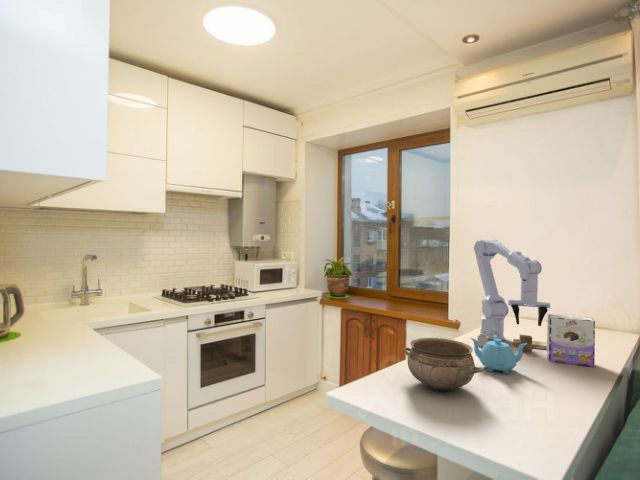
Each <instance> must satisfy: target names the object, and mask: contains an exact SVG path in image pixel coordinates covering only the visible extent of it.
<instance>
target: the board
mask: <svg viewBox="0 0 640 480" xmlns="http://www.w3.org/2000/svg"><path fill="white" fill-rule="evenodd" d="M519 342H520V338H519V339H517V338H513V345H514V347H517V348H519ZM532 349H537V350H544V351H545V350H546V351H547V342H546V341H536V340H532Z"/></svg>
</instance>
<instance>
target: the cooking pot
mask: <svg viewBox="0 0 640 480" xmlns="http://www.w3.org/2000/svg"><path fill="white" fill-rule="evenodd" d="M409 344H410V346H411V348H410V347H404V348H403V349H402V350H403V352H404V354H405V355H406V356H407V367H408V370H409V372H410V373H411V376H413V377H414V378H415V379H416V380H417V381H419V383H421V384H423V385H425V386H426V387H428V388H429V389H431V390H433V391H436V392H440V393H441V392H442V393H443V392H445V393H448V392H451V391H453V390H455V389H459V388H462V387H463V386H466V385H467V384H469V383H470V382H471V381H472V379H473V377H474V376H475V374H479V373H481V372H484V370H485V368H484V367H483V366H480V367H478V366H475V365H476V364H475V360H474V357H473V355H472V352H473V351H474V349H473V347H472V346H470V344H468V343H465V342H461V341H458V340H454V339H450V338H441V337H440V338H439V337H423V338H422V337H421V338H416V339H413V340H411V341H410V343H409Z"/></svg>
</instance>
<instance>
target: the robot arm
mask: <svg viewBox="0 0 640 480" xmlns="http://www.w3.org/2000/svg"><path fill="white" fill-rule="evenodd" d="M473 250H474V254H475V259H476V263H477V267H478V272H479V275H480V276H479V277H480V281H481V282H482V287H483V291H484V295H485V297H484V298H483V300H482V301H481V305H482V306H481V310H482V311H481V312H482V314H483V315H484V316H481V317H480V330H479V331H480V333H479V334H481V333H483V334H486V336H489V334H490V333H491V331H492V329H495V330H497V332H496V333H495V335H496V336H497V339H500V340H502V341H506V338H505V333H504V331H505V328H504V327H505V326H504V324H505V319H506V316H507V315H509V311H510V309H509V306H510V307H511V309H512V311H513V314H514V317H515V324H516V325H520V307H528V308H537V309H538V310H537V312H538V314H537V315H538V317H537V318H538V319H537V326H538V327H541V326H542V323H543V319H544V317H546V314H547V313H548V311H549V309H551V302H545V301H538V291H539V290H538V289H539V288H538V285H539V284H538V281H539V280H538V279H539V275H540V274H541V272H542V269H543V268H542V264H541V263H540V262H539V261H538V260H537V259H536V260H535V259H533V260H531V259H530V257H528V256H525V255H524V254H522V252H521V251H517V250H516V251H515V250H514V251H511V250H510V249H509V247H508V248H507V247H506V246H505V245H503V244H502V242H501V241H499V240H498V239H477V240H476V241H475V244H474V245H473ZM497 254H499V255H500V256H502V257H504V258H505V259H507V263H509V264H510V265H512V266H513V267H515V268H516V269H517V270H518V273H519V277H520V282H521V283H520V300H518V299H516V300H514V299H508V303H506V301H505V298H503V296H501V295H499V291H498V287H497V284H496V280H495V277H494V273H493V268H492V264H491V260H493V259H494V258H495V257H496V256H497ZM491 340H493V338H492V339H491Z"/></svg>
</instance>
